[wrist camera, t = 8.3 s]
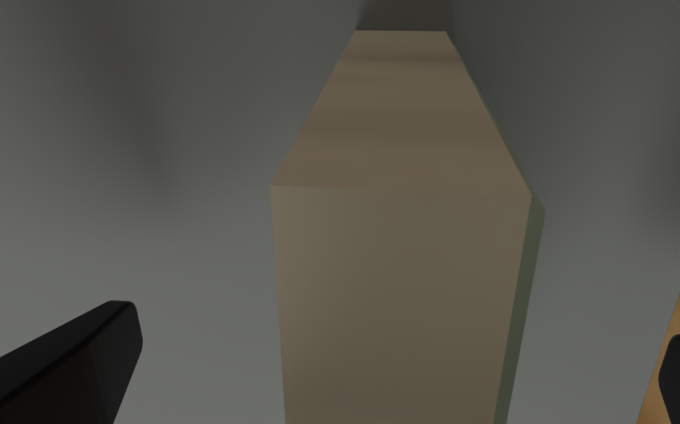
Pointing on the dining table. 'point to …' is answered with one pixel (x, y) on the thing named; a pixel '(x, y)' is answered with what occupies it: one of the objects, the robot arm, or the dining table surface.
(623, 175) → the mat
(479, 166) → the tile
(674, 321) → the dining table surface
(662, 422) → the dining table surface
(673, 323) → the dining table surface
